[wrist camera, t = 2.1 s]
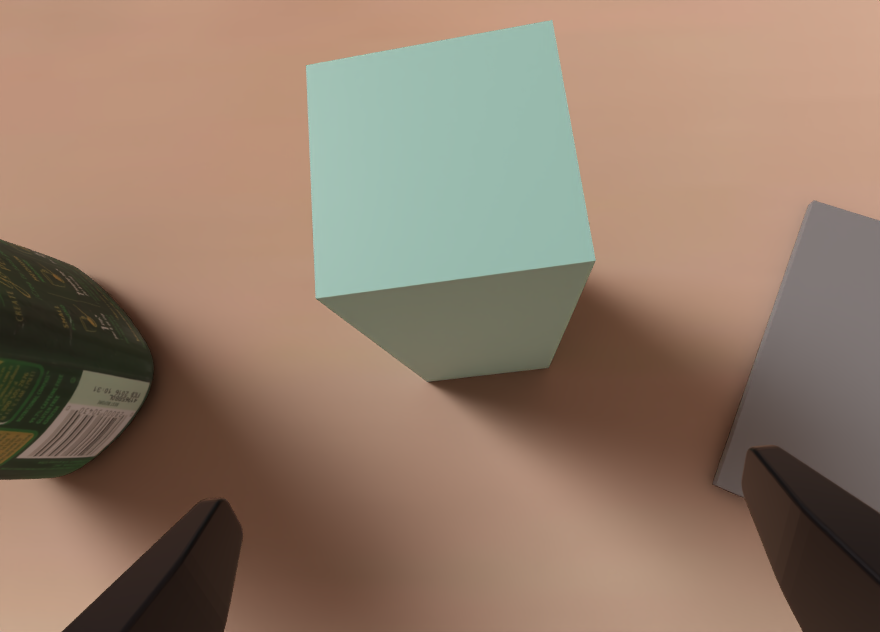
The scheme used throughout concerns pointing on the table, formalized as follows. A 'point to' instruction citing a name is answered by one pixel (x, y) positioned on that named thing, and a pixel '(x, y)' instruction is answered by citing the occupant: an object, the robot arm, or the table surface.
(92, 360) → the coffee jar
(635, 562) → the table surface
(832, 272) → the mat
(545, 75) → the teal tall block
